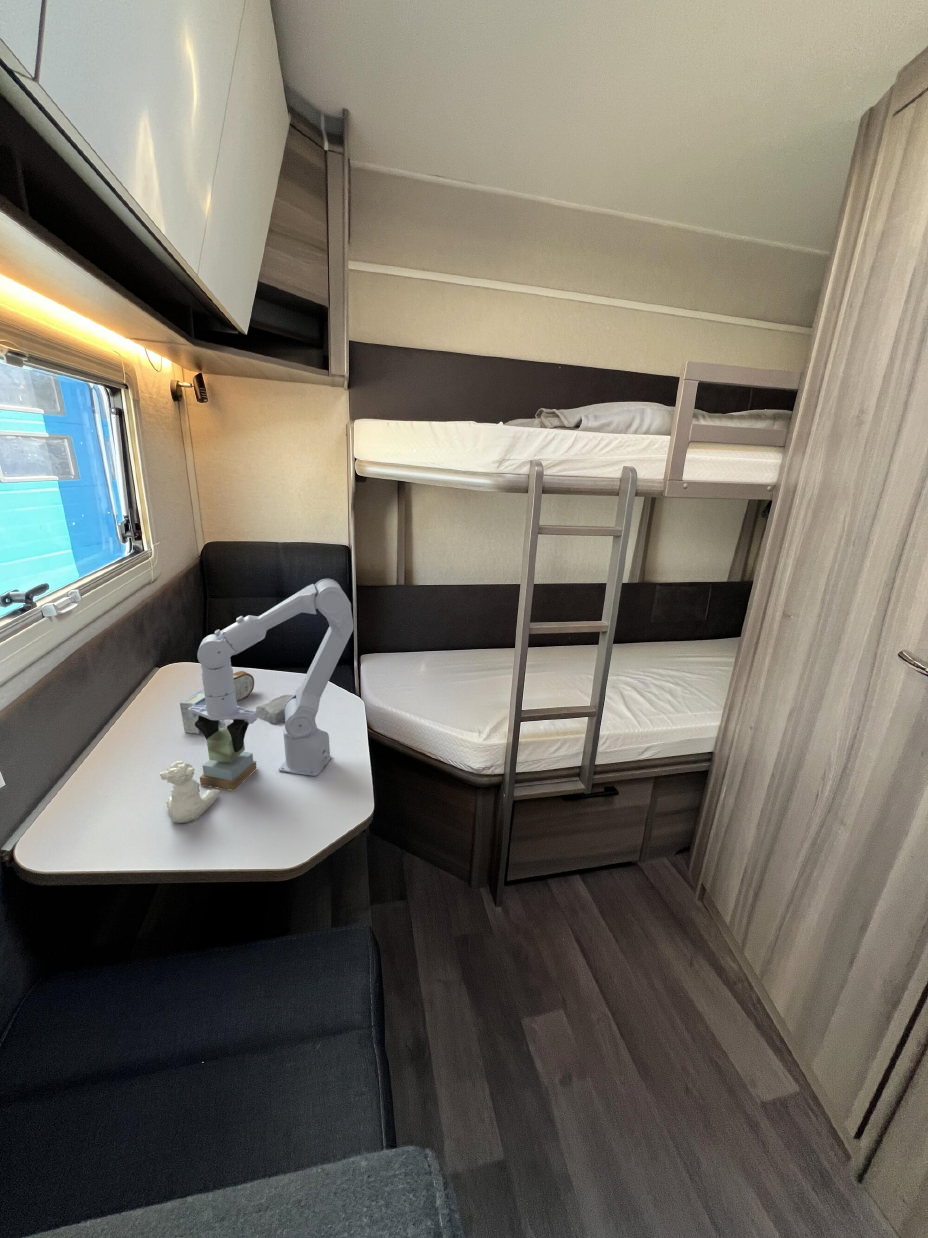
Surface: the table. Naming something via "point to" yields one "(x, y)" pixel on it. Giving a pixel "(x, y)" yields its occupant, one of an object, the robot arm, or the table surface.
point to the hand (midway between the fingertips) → (226, 748)
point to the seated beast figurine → (186, 793)
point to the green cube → (222, 746)
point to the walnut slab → (226, 783)
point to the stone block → (273, 710)
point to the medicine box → (188, 721)
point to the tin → (243, 684)
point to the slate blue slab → (228, 767)
